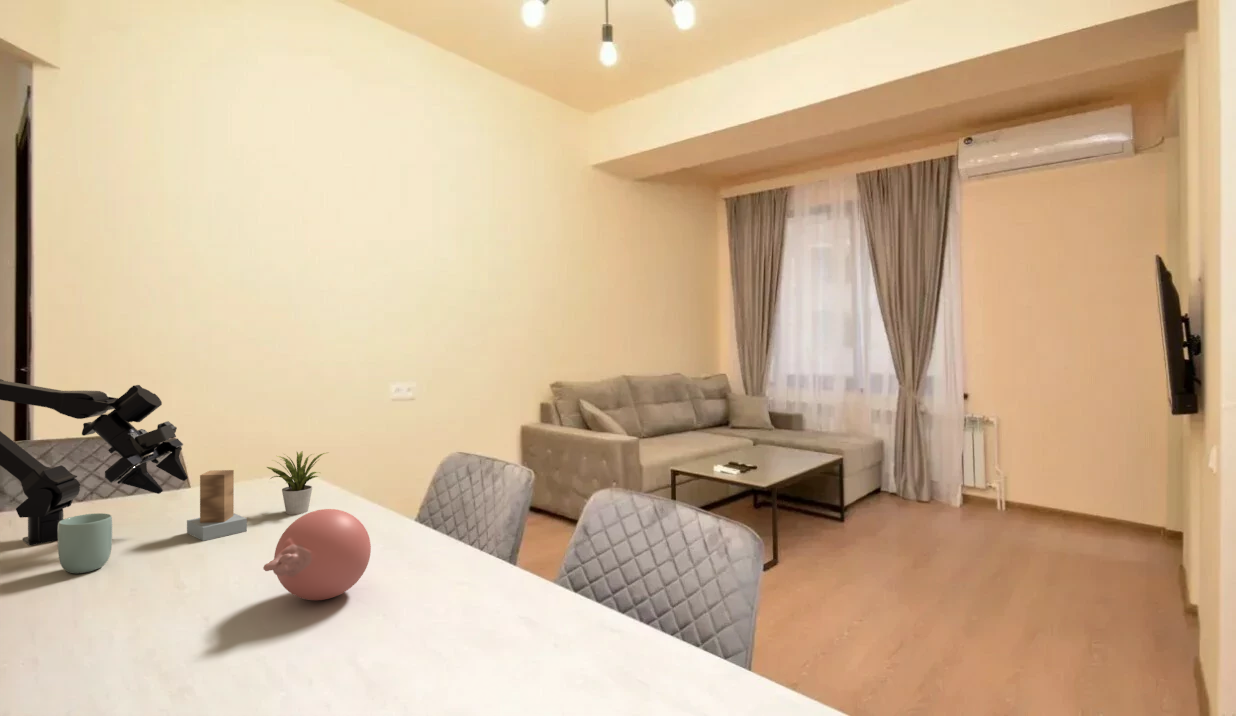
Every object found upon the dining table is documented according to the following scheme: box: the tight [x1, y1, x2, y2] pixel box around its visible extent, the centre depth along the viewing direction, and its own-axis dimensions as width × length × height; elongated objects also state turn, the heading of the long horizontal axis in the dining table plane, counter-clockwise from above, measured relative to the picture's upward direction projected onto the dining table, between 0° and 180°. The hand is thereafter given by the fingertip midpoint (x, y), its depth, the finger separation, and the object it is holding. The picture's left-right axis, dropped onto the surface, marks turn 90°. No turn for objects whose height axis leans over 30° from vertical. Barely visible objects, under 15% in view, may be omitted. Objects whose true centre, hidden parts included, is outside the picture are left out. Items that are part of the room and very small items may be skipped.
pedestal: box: [186, 513, 248, 542], centre depth 141 cm, size 9×9×3 cm
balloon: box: [262, 508, 372, 601], centre depth 105 cm, size 15×20×15 cm
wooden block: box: [199, 469, 235, 523], centre depth 140 cm, size 5×5×11 cm
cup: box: [57, 512, 113, 574], centre depth 117 cm, size 8×8×10 cm
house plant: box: [266, 450, 330, 515], centre depth 159 cm, size 14×14×16 cm
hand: (173, 485), depth 138 cm, fingers open, 9 cm apart
